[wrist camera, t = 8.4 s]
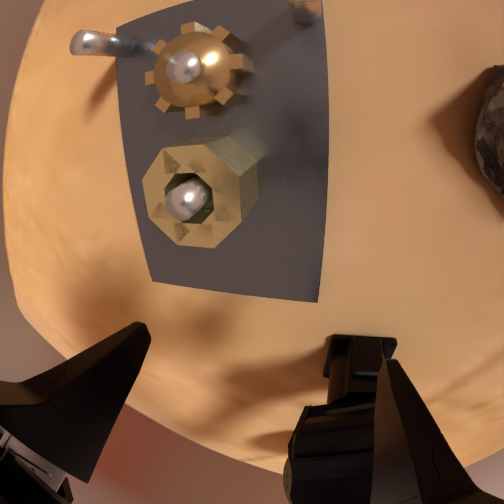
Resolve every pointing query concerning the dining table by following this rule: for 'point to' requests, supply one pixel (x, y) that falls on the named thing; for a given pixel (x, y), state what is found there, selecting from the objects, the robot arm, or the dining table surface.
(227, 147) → the hollow octagonal tube
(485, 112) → the grey rock
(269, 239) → the carrier
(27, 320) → the dining table surface
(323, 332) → the dining table surface
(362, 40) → the dining table surface
